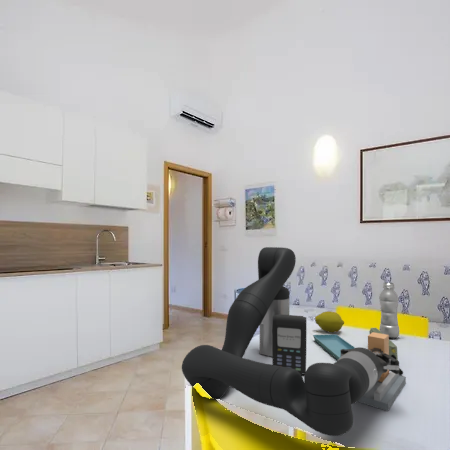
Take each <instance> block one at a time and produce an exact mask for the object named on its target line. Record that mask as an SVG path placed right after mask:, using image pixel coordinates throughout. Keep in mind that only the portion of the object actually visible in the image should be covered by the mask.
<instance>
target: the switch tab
mask: <svg viewBox="0 0 450 450" xmlns="http://www.w3.org/2000/svg"><path fill="white" fill-rule="evenodd" d="M389 340H390V338H389V335H386V334H380V333H374V332H372V333H371V334H370V333H369V334H368V335H367V349H368V350H370V349H373V348H379V349H381V351H383V353H386V354H388V355H389ZM389 373H390V371H389V370H387V372H386V373H382V375H381V377H380V379H379V380H378V381H380V382H383V381H384V380H385V378H386V377H387V376H388V375H389Z"/></svg>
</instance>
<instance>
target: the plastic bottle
mask: <svg viewBox="0 0 450 450" xmlns="http://www.w3.org/2000/svg"><path fill="white" fill-rule="evenodd" d="M382 285H383V286H382V288H383V289H382V291H380V293H379V295H378V297H379V298H378V299H379V305H380V312H381V314H380V324H379V331H380V332H382V333H383V334H386V335H389V339H396V338H398V337H399V336H400V326H399V321H398V306H399V299H400V298H399V296H398V294H397V292H396V291H395V289H396V287H395V282H383V284H382Z"/></svg>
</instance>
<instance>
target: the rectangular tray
mask: <svg viewBox="0 0 450 450" xmlns="http://www.w3.org/2000/svg"><path fill="white" fill-rule="evenodd" d="M312 337H313V339H314V341H315V342H316V343H317V344H318V345H319V346H321V347H322V349H324V350H325V351H327V352H328V353H329V354H330V355H331V356H332V357H333V358H334V359H335V360H336V361H338V359H339V358H340V357H341V349H354V348H356V347H355V346H354V345H352V344H351V343H350V342H348V341H347V340H345V339H344V338H343V337H341V336H340V335H338V334H312Z"/></svg>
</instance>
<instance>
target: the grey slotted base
mask: <svg viewBox="0 0 450 450" xmlns="http://www.w3.org/2000/svg"><path fill="white" fill-rule="evenodd" d="M406 378H407V377H406V376H402V375H399V374H395V373H393V372H392V371H389V375H388V376H387V377H386V378H385V380H384V381H383V382H380V381H377V383H376V384H375V385H374V386H373V387H372V388H371V389H370V390H369V391H368V392H367V393H365V394H364V395H363V396H362V397H361V399H359V400H358V401H357V402H358V403H360V404H363V405H367V406H371V407H373V408H377V409H380V410H383V411H386V412H388V411H389V410H390V408H391V407H392V406H393V404H394V402H395V401H396V399H397V397H398V396H399V394H400V392H401V391H402V389H403V388H404V386H405V385H406V384H407V383H406V382H407V381H406V380H407V379H406ZM357 402H356V403H357Z"/></svg>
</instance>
